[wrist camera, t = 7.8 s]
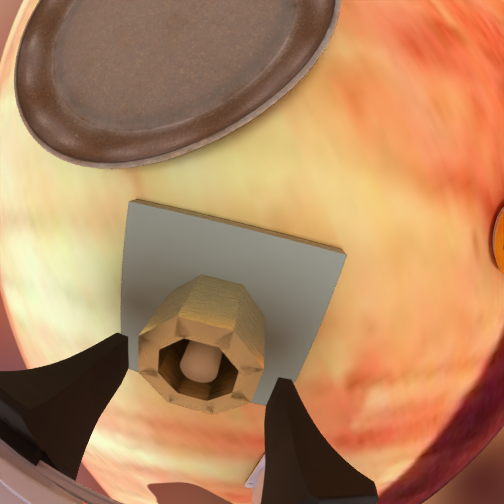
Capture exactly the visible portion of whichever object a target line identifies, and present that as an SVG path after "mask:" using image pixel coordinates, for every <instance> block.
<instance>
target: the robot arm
mask: <svg viewBox="0 0 504 504" xmlns="http://www.w3.org/2000/svg"><path fill="white" fill-rule="evenodd" d="M128 368H129V355H128V336H125V335H122V334H120V333H116V334H114V335H112V336H110V337H108V338H106V339H105V340H103V341H101V342H99V343H98V344H96V345H94V346H92V347H90V348H88V349H86V350H85V351H83V352H80V353H78V354H76V355H74V356H72V357H70V358H67V359H65V360H62V361H59V362H56V363H53V364H50V365H46V366H42V367H38V368H34V369H28V370H20V371H2V372H1V371H0V483H2V484H3V485H4V486H5V487H6V488H8V489H9V490H10V491H11V492H12V493H14V494H15V495H16V496H17V497H19V498H20V499H21V500H23V501H24V502H25V503H27V504H83V502H85V503H87V504H123V503H121V502H118V501H116V500H114V499H111V498H109V497H106V496H104V495H102V494H100V493H98V492H96V491H94V490H92V489H90V488H87V487H86V486H84V485H81V484H80V483H78V482H76V477H77V473H78V470H79V466H80V463H81V460H82V457H83V454H84V452H85V449H86V446H87V444H88V441H89V439H90V436H91V434H92V432H93V430H94V427H95V425H96V423H97V421H98V419H99V417H100V416H101V414H102V412H103V411H104V409H105V408H106V406H107V405H108V403H109V401H110V400H111V398H112V397H113V395H114V394H115V392H116V391H117V389H118V388H119V386H120V385H121V383H122V381H123V379H124V377H125V375H126V372H127V370H128ZM264 427H265V454H264V455H263V457H262V458H261V460H260V462H259V463H258V465H257V466H256V468H255V469H254V471H253V472H252V474H251V475H250V477H249V478H248V480H247V481H246V483H245V487H248V488H253V490H252V504H376V503H377V501H378V500H379V499H378V494H377V489H376V486H375V483H374V482H373V481H372V480H370V479H369V478H367V477H366V476H364V475H363V474H361V473H360V472H359V471H357V470H356V469H355V468H354V467H352V466H351V465H350V464H349V463H348V462H346V461H345V460H344V459H343V458H342V457H341V456H340V455H339V454H338V453H337V452H336V451H335V450H334V449H333V448H332V447H331V445H330V444H329V443H328V442H327V441H326V439H325V438H324V437H323V435H322V434H321V433H320V431H319V430H318V428H317V427H316V425H315V424H314V422H313V421H312V419H311V417H310V416H309V414H308V412H307V410H306V408H305V407H304V405H303V403H302V401H301V399H300V397H299V395H298V392H297V390H296V388H295V386H294V384H293V381H292V380H291V379H287V378H281V377H278V379H277V382H276V384H275V386H274V389H273V391H272V393H271V395H270V398H269V400H268V402H267V404H266V412H265V422H264ZM73 496H74V497H73ZM75 497H76V498H75ZM78 499H79V500H78ZM80 500H81V501H83V502H81V501H80Z"/></svg>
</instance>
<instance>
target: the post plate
mask: <svg viewBox="0 0 504 504" xmlns="http://www.w3.org/2000/svg"><path fill="white" fill-rule="evenodd" d="M346 256H347V255H346V253H345V252H344V251H343V250H342V249H338V248H335V247H331V246H327V245H324V244H320V243H316V242H312V241H309V240H305V239H301V238H297V237H293V236H289V235H286V234H282V233H278V232H274V231H270V230H266V229H262V228H258V227H254V226H250V225H246V224H242V223H238V222H234V221H230V220H225V219H221V218H217V217H213V216H209V215H205V214H200V213H196V212H192V211H187V210H183V209H179V208H174V207H170V206H166V205H161V204H157V203H152V202H148V201H143V200H138V199H136V200H132V201H129V205H128V212H127V221H126V230H125V240H124V251H123V265H122V285H121V334H122V335H125V336H128V355H129V369H131V370H134V371H137V372H139V365H138V342H139V335H140V333H141V332H142V330H143V329H144V328H145V326H146V325H147V323H148V322H149V320H150V319H151V318H152V316H153V315H154V314H155V312H156V311H157V309H158V308H159V307H160V305H161V304H162V303H163V301H164V300H165V298H166V297H167V296H168V294H169V293H170V292H172V291H173V290H175V289H177V288H178V287H180V286H182V285H184V284H185V283H187V282H189V281H191V280H192V279H194V278H196V277H197V276H199V275H201V274H203V275H207V276H211V277H215V278H219V279H223V280H227V281H231V282H235V283H239V284H243V285H244V286H245V288H246V289H247V291H248V292H249V294H250V295H251V297H252V298H253V300H254V301H255V303H256V304H257V306H258V307H259V308H260V310H261V311H262V313H263V314H264V316H265V347H264V370H263V373H262V376H261V378H260V381H259V383H258V386H257V389H256V391H255V394H254V396H253V399H252V402H251V403H255V404H261V405H266V404H267V402H268V400H269V398H270V395H271V393H272V391H273V389H274V386H275V384H276V382H277V379H278V377H281V378H287V379H291V380H292V381H293V384H294V383H295V381H296V378H297V376H298V374H299V372H300V370H301V368H302V366H303V364H304V361H305V359H306V357H307V355H308V352H309V350H310V348H311V346H312V343H313V341H314V339H315V336H316V334H317V332H318V329H319V327H320V325H321V322H322V320H323V317H324V315H325V312H326V310H327V307H328V305H329V302H330V300H331V297H332V295H333V292H334V289H335V287H336V284H337V281H338V279H339V276H340V273H341V270H342V267H343V265H344V262H345V259H346ZM222 353H223V352H222V350H221V349H220V348H219V347H215V346H211V345H207V344H204V343H200V342H196V341H192V340H190V341H189V344H188V346H187V348H186V351H185V353H184V355H183V358H182V360H181V363H180V368H181V371H182V372H183V374H184V375H185V376H186V377H188V378H189V379H191V380H193V381H196V382H200V383H206V382H210V381H212V380H214V379H215V378H216V376H217V374H218V370H219V366H220V361H221V357H222Z"/></svg>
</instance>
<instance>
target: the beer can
mask: <svg viewBox="0 0 504 504" xmlns="http://www.w3.org/2000/svg"><path fill="white" fill-rule="evenodd" d="M492 246H493V253H494V256H495V258H496V263H497V266H498V268H499V269H500V271H501V272H502V273H503V274H504V207H503V208H502V209H501V211H500V212H499V214H498V217H497V219H496V222H495V225H494V230H493V238H492Z"/></svg>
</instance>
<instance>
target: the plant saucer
mask: <svg viewBox="0 0 504 504" xmlns="http://www.w3.org/2000/svg"><path fill="white" fill-rule="evenodd" d="M340 3H341V0H39V2H38V4H37V5H36V7H35V9H34V11H33V12H32V14H31V16H30V18H29V20H28V22H27V25H26V27H25V29H24V32H23V35H22V38H21V41H20V44H19V48H18V52H17V56H16V64H15V70H14V90H15V97H16V103H17V107H18V109H19V113H20V116H21V118H22V121H23V122H24V124H25V126H26V128H27V130H28V131H29V133H30V134H31V135H32V137H33V138H34V139H35V140H36V141H37V142H38V144H40V145H41V146H42V147H43V148H44V149H45V150H47V151H48V152H50V153H51V154H53V155H55V156H56V157H58V158H60V159H62V160H65V161H67V162H70V163H73V164H76V165H80V166H84V167H92V168H101V169H117V168H129V167H136V166H142V165H148V164H153V163H157V162H161V161H164V160H167V159H170V158H174V157H177V156H180V155H183V154H186V153H188V152H191V151H193V150H195V149H198V148H200V147H202V146H205V145H207V144H209V143H211V142H213V141H215V140H218V139H220V138H222V137H224V136H225V135H227V134H229V133H231V132H233V131H235V130H236V129H238V128H240V127H241V126H243V125H245V124H246V123H248V122H249V121H251V120H252V119H254V118H255V117H257V116H258V115H260V114H261V113H263V112H264V111H265V110H267V109H268V108H269V107H271V106H272V105H273V104H274V103H276V102H277V101H278V100H279V99H281V98H282V97H283V96H284V95H285V94H286V93H288V92H289V91H290V90H291V89H292V88H293V87H294V86H295V85H296V84H297V83H298V82H299V81H300V80H301V79H302V78H303V77H304V76H305V74H306V73H307V72H308V71H309V70H310V69H311V67H312V66H313V65H314V64H315V62H316V61H317V60H318V58H319V57H320V55H321V54H322V52H323V51H324V49H325V48H326V46H327V44H328V42H329V40H330V38H331V36H332V34H333V31H334V29H335V26H336V24H337V21H338V17H339V12H340Z"/></svg>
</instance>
